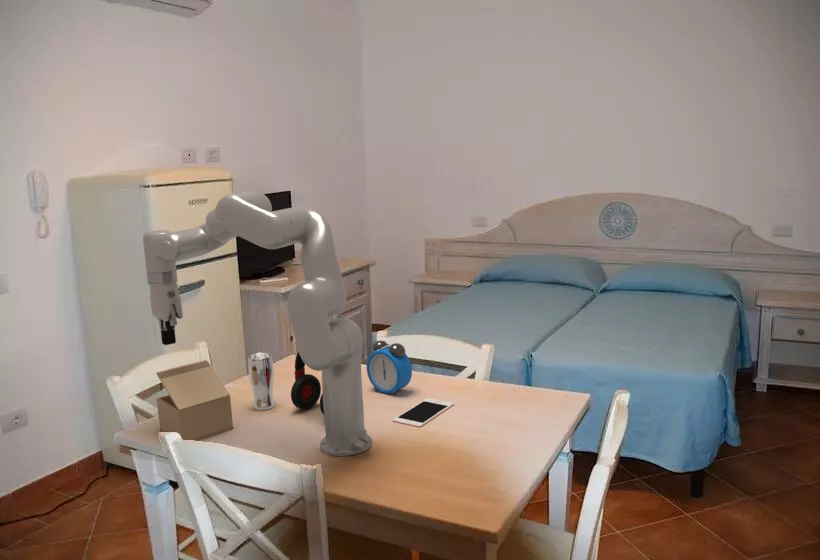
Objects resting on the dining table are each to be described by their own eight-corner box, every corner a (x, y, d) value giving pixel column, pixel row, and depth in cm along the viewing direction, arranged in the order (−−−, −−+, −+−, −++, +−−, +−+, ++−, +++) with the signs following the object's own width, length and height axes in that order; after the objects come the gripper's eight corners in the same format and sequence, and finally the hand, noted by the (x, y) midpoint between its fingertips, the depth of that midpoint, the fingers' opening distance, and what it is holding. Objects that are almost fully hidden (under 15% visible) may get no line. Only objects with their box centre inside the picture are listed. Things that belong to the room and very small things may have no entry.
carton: (233, 428, 183) (230, 396, 181) (182, 445, 174) (178, 411, 172) (209, 414, 193) (205, 384, 192) (160, 430, 184) (156, 398, 183)
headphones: (287, 412, 193) (281, 342, 189) (314, 401, 200) (309, 334, 196) (329, 426, 181) (324, 353, 178) (356, 414, 189) (352, 344, 185)
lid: (229, 396, 181) (230, 394, 181) (179, 411, 172) (179, 409, 172) (206, 361, 189) (206, 359, 189) (156, 374, 180) (156, 372, 180)
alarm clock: (367, 390, 207) (364, 341, 204) (380, 384, 212) (377, 336, 209) (400, 398, 199) (398, 348, 196) (414, 391, 204) (411, 342, 201)
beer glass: (279, 401, 201) (275, 351, 198) (272, 410, 194) (268, 359, 192) (256, 401, 202) (251, 352, 199) (248, 410, 195) (243, 359, 192)
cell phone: (454, 406, 193) (454, 402, 192) (420, 429, 178) (420, 425, 178) (427, 400, 197) (427, 397, 197) (391, 423, 183) (391, 419, 183)
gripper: (187, 278, 181) (194, 346, 185) (164, 271, 192) (171, 335, 196) (159, 283, 176) (166, 352, 180) (137, 276, 187) (144, 341, 191)
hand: (169, 343), depth 188 cm, fingers closed
